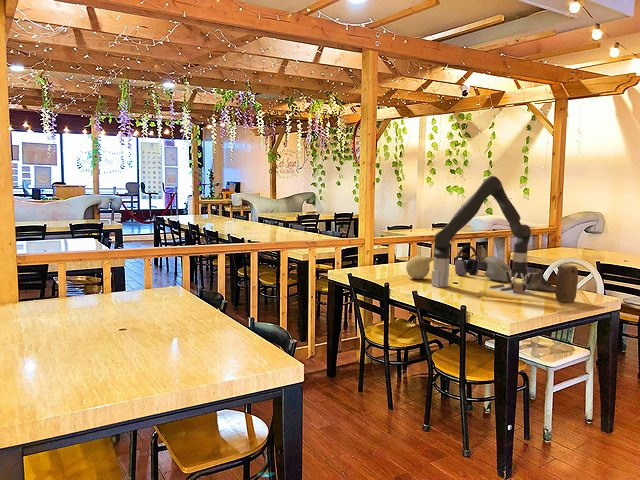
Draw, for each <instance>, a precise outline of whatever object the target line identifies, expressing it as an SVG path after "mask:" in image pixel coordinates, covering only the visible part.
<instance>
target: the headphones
mask: <svg viewBox="0 0 640 480" xmlns="http://www.w3.org/2000/svg"><path fill="white" fill-rule="evenodd" d="M467 248H470V249H471V250H472V252H473V254H471V256H470V257H469V259H468V260H467V262H466V260H465V259H464V257H463V256H462V255H461V254H462V253H463V252H464V250H466V249H467ZM473 257H477V259H475V258H473ZM458 258H460V259H458ZM480 260H481V259H480V256H479V255H478V254H477V250H476V249H475V247H473V246H471V245H464V246H463V247H461V249H460V251H458V255H456V256H455V257H454V271H455V274H456V275H457V276H459V277H463V276H466V275H467V274H471V275H474V274H475V275H478V274H479V270H480V263H481V262H480Z"/></svg>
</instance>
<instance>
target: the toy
mask: <svg viewBox="0 0 640 480" xmlns="http://www.w3.org/2000/svg"><path fill="white" fill-rule="evenodd" d="M432 261H433V257H424V256H422V255H420V254H419V253H417V254H416V255H414V256H413V257H411V258H409V259H408V261H407V262H406V265H405V269H406V273H407V274H408V275H409V277H411V278H412V279H413V280H414V279H415V280H421V279H424V278H426V277H427V276H428V274H429V273H430V271H431V269H430V267H431V265H430V263H432Z"/></svg>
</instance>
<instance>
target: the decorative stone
mask: <svg viewBox="0 0 640 480" xmlns="http://www.w3.org/2000/svg"><path fill="white" fill-rule="evenodd" d="M483 261H484V262H485V263H486V264H487V270H486V271H485V272H484V276H485V277H486V278H487V279H488V280H493V281H497V282H501V283H502V282H503V283H509V282H508V279H507V274H506V273H507V271H508V272H509V271H512V269H511V267H510V266H509V265H508V264H507V263H506V262H504V261H503V260H502V259H501V258H499V257H497V256H493V255H490V256H486V257H485V258H484V259H483ZM512 279H513V274H512V273H511V275H510V280H512Z"/></svg>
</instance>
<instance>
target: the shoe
mask: <svg viewBox="0 0 640 480" xmlns="http://www.w3.org/2000/svg"><path fill="white" fill-rule="evenodd" d="M529 273H532V277H531V280H530V283H529V284H526V290H527V291H533V292H544V293H546V292H547V293H551V294H555V287H556V285H555V286H554V284H552V283H550V282H549V280H546V279H545V275H543V274H542V272H541V271H538V272H534V271H533V272H532V271H530V272H529ZM528 279H529V277H528V274H527V275H526V276H525V281H526V282H527V281H528Z"/></svg>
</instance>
